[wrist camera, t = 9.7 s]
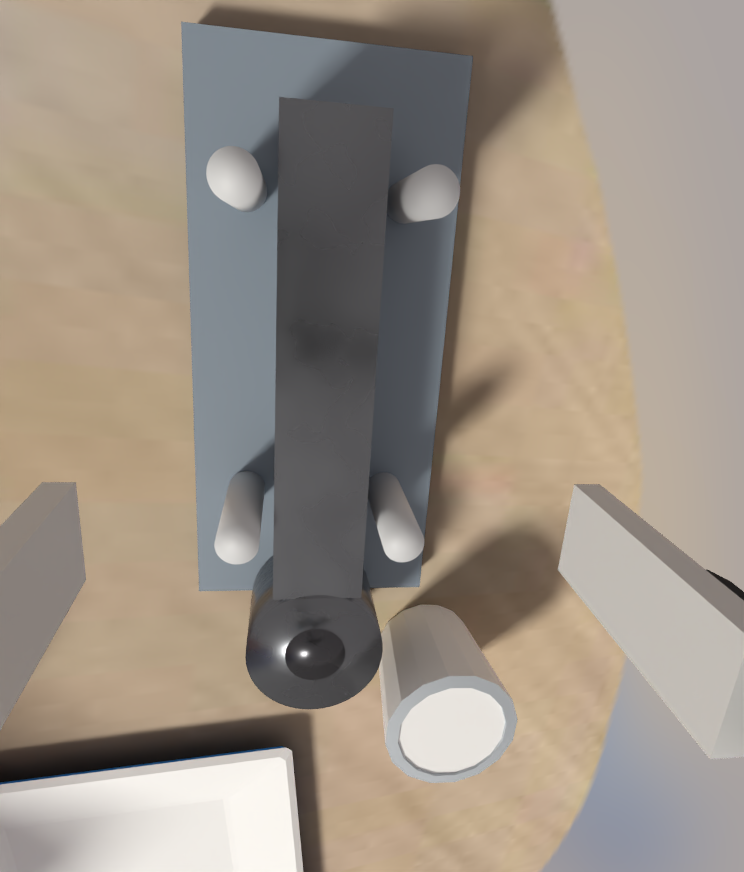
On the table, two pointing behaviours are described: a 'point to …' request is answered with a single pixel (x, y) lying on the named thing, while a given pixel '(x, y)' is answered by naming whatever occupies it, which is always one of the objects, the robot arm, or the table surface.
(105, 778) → the plate
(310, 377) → the dark grey bar
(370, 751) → the table surface
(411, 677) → the white cup
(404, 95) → the peg rack
